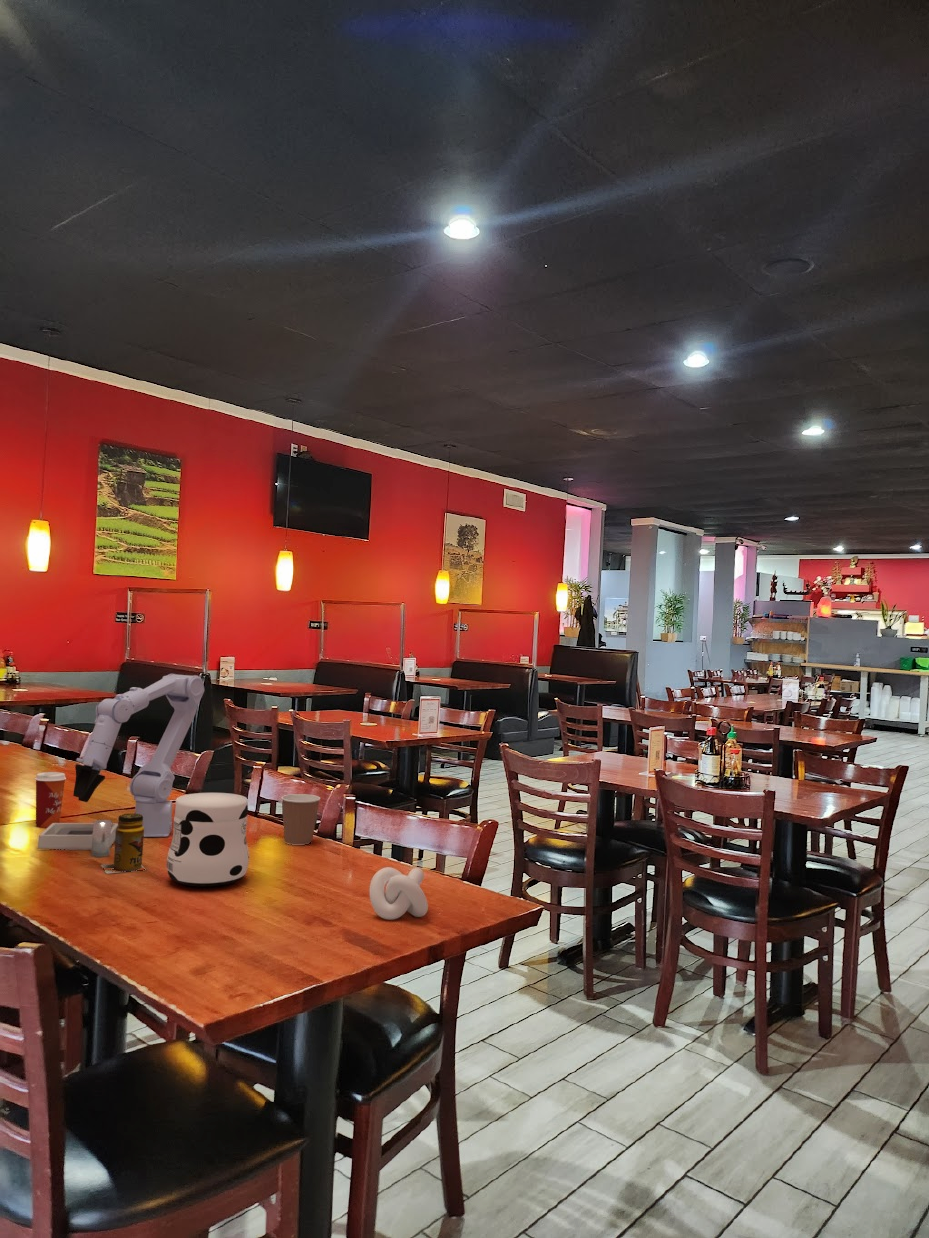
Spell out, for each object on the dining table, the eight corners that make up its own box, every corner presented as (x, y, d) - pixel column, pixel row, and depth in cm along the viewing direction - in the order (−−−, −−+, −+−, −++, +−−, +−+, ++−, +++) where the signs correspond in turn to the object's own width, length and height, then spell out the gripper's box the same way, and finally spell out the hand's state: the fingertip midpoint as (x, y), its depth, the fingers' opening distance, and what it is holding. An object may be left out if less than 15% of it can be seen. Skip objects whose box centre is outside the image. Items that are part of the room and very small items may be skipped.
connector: (110, 852, 206) (112, 819, 206) (107, 857, 202) (110, 823, 202) (93, 853, 205) (95, 819, 205) (89, 857, 201) (91, 823, 201)
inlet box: (118, 836, 222) (119, 823, 222) (108, 849, 209) (109, 835, 209) (51, 836, 219) (52, 822, 219) (37, 850, 205) (38, 835, 205)
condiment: (146, 870, 193) (149, 817, 193) (106, 874, 188) (110, 819, 188) (139, 862, 199) (142, 811, 199) (100, 866, 194) (103, 813, 194)
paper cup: (54, 829, 226) (57, 776, 227) (25, 827, 227) (29, 775, 227) (68, 823, 234) (72, 772, 235) (41, 821, 234) (44, 770, 235)
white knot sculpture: (373, 926, 163) (376, 879, 163) (363, 907, 174) (365, 863, 175) (430, 924, 166) (433, 877, 166) (416, 905, 178) (419, 861, 178)
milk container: (262, 876, 193) (266, 796, 194) (220, 896, 176) (225, 809, 177) (195, 866, 198) (200, 789, 198) (148, 886, 181) (153, 801, 182)
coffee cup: (322, 839, 230) (324, 795, 231) (311, 848, 220) (314, 802, 221) (285, 837, 231) (287, 792, 232) (273, 845, 221) (275, 799, 222)
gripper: (88, 746, 217) (68, 799, 212) (79, 735, 204) (57, 790, 199) (116, 753, 218) (97, 805, 213) (109, 742, 205) (88, 798, 200)
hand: (80, 799), depth 206 cm, fingers open, 7 cm apart
